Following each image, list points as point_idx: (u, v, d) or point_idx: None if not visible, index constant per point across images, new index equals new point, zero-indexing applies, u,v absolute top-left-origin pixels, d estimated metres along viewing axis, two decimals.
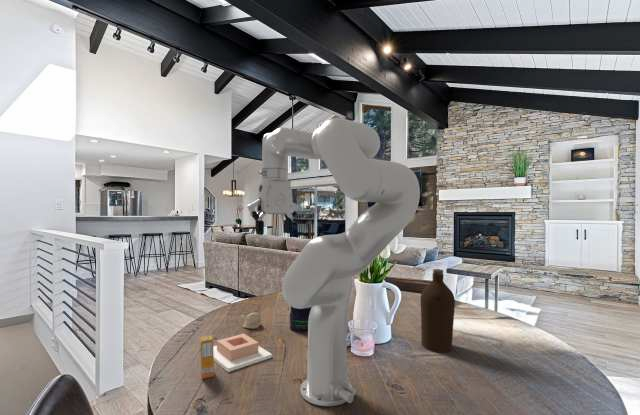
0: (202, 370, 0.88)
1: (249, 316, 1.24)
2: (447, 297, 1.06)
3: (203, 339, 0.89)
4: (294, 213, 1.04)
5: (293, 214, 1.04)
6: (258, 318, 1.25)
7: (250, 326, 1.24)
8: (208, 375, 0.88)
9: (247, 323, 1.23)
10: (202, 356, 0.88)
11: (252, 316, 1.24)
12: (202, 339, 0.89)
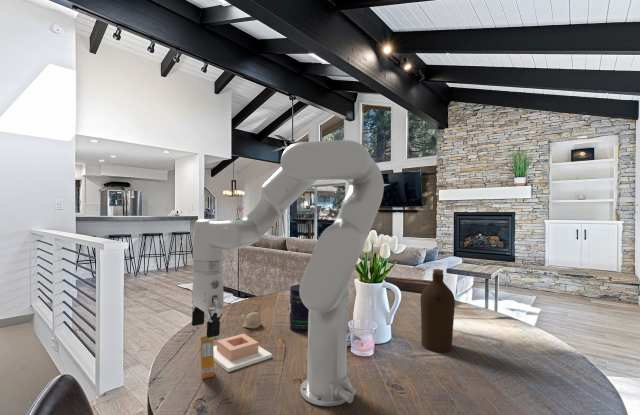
0: (202, 370, 0.88)
1: (249, 316, 1.24)
2: (447, 297, 1.06)
3: (203, 339, 0.89)
4: None
5: None
6: (258, 318, 1.26)
7: (250, 326, 1.24)
8: (208, 375, 0.88)
9: (247, 323, 1.24)
10: (202, 356, 0.88)
11: (252, 316, 1.24)
12: (202, 339, 0.89)
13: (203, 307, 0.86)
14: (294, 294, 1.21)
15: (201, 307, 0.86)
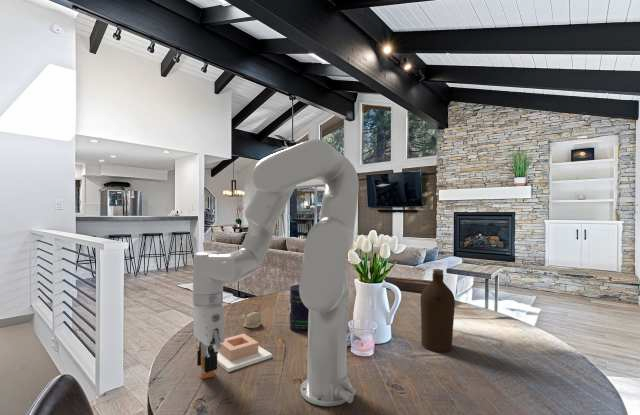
0: (202, 370, 0.88)
1: (249, 316, 1.24)
2: (447, 297, 1.06)
3: None
4: None
5: None
6: (258, 318, 1.26)
7: (250, 326, 1.24)
8: (208, 375, 0.88)
9: (247, 323, 1.24)
10: (202, 356, 0.88)
11: (252, 316, 1.24)
12: None
13: (204, 341, 0.86)
14: (294, 294, 1.21)
15: (203, 341, 0.86)
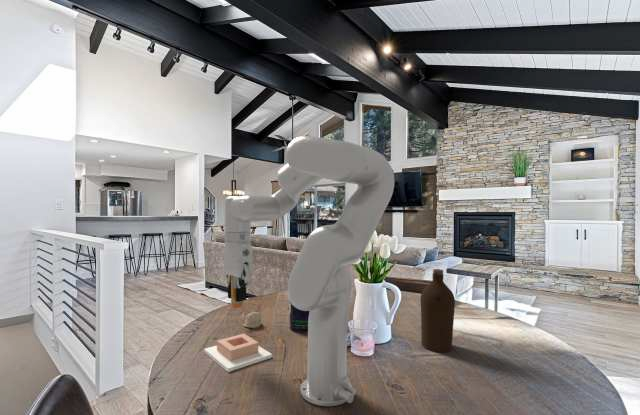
0: (233, 300, 0.99)
1: (249, 315, 1.25)
2: (447, 297, 1.06)
3: None
4: None
5: None
6: (258, 317, 1.26)
7: (250, 325, 1.24)
8: (238, 305, 1.00)
9: (247, 322, 1.24)
10: (233, 288, 0.99)
11: (252, 315, 1.25)
12: None
13: (236, 273, 0.97)
14: None
15: (234, 273, 0.98)
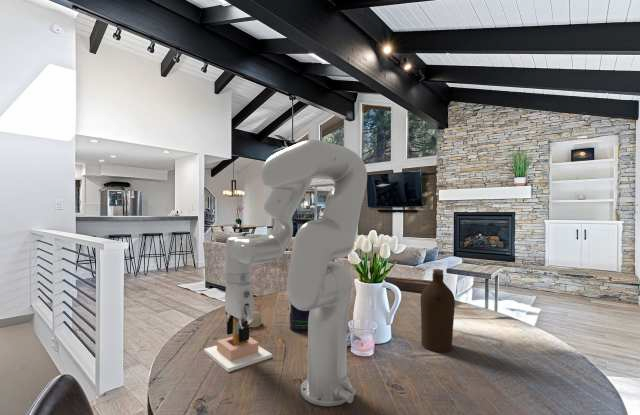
0: None
1: None
2: (447, 297, 1.06)
3: (236, 318, 1.01)
4: None
5: None
6: (259, 317, 1.26)
7: (251, 325, 1.25)
8: None
9: None
10: (235, 333, 1.00)
11: (253, 315, 1.25)
12: (235, 318, 1.01)
13: (236, 314, 0.98)
14: None
15: (235, 314, 0.99)
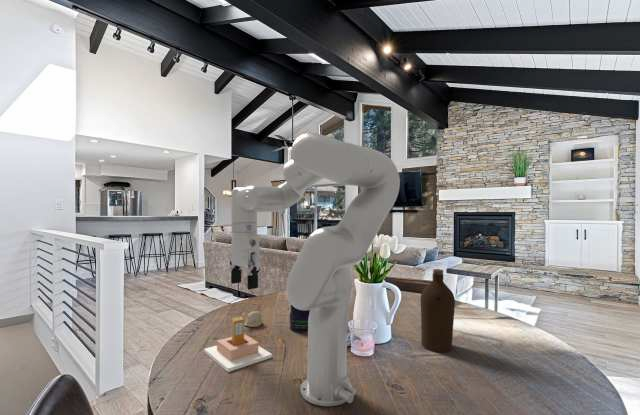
0: None
1: (250, 315, 1.25)
2: (448, 297, 1.06)
3: (235, 319, 1.01)
4: None
5: None
6: (259, 317, 1.27)
7: (251, 324, 1.25)
8: None
9: (248, 321, 1.25)
10: (235, 334, 1.00)
11: (253, 315, 1.25)
12: (234, 320, 1.01)
13: (243, 263, 0.98)
14: None
15: (241, 263, 0.99)
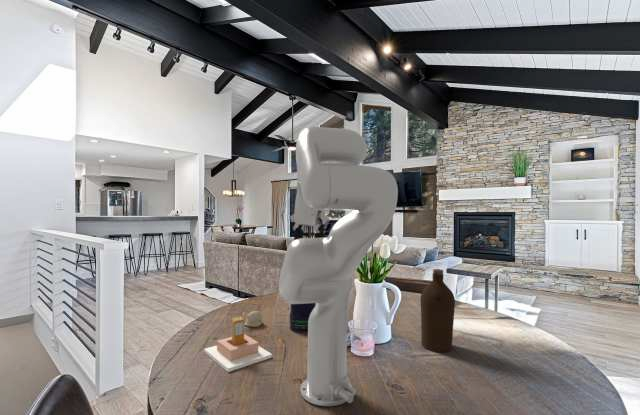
0: None
1: (250, 314, 1.26)
2: (448, 297, 1.06)
3: (235, 319, 1.01)
4: None
5: None
6: (259, 317, 1.27)
7: (251, 324, 1.26)
8: None
9: (248, 321, 1.25)
10: (235, 334, 1.00)
11: (253, 314, 1.26)
12: (234, 320, 1.01)
13: (310, 221, 1.00)
14: None
15: (308, 222, 1.01)
